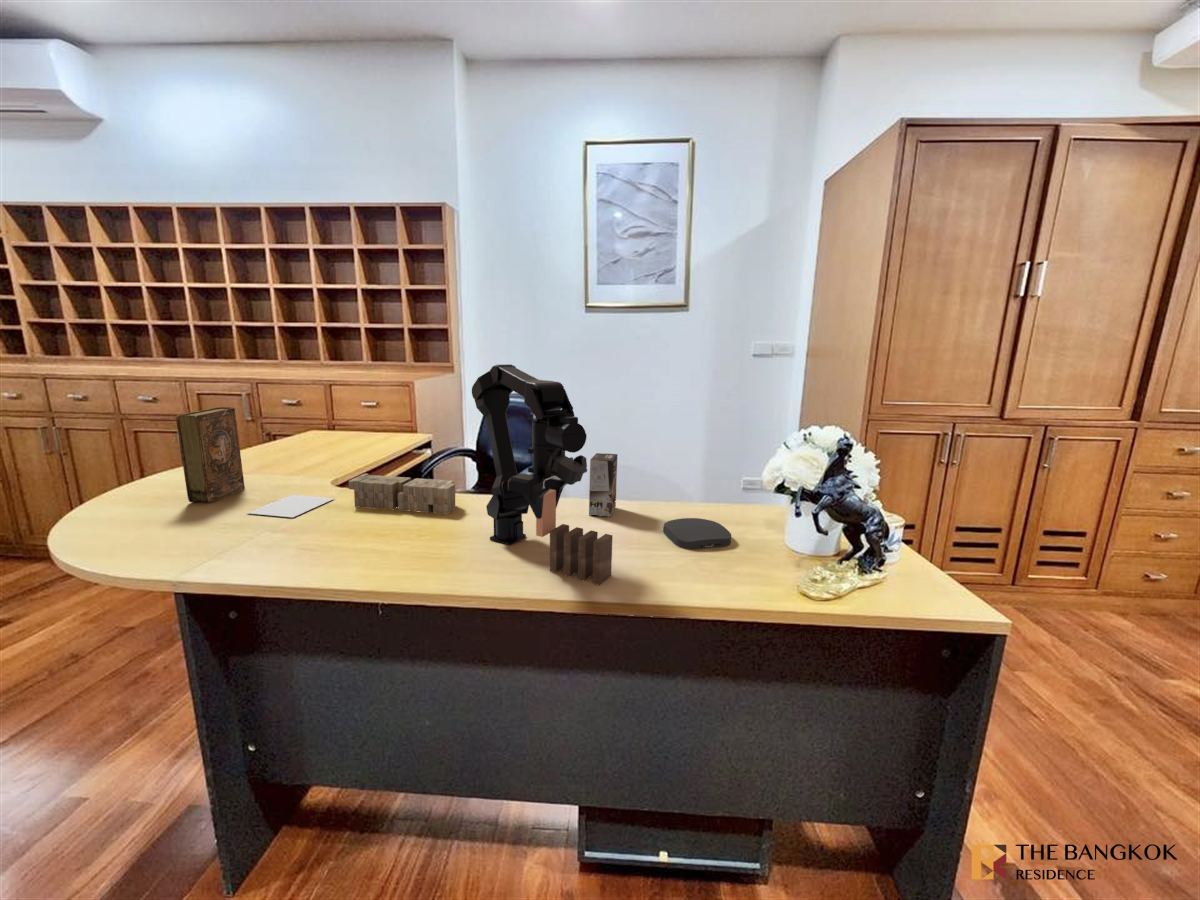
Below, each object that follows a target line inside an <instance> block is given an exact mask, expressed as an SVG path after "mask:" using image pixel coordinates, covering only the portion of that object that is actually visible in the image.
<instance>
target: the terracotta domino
mask: <svg viewBox="0 0 1200 900" xmlns="http://www.w3.org/2000/svg"><path fill="white" fill-rule="evenodd" d="M556 513H557V508H556V490H552V489H549V491H548V492H547V493H546V494H545V495H544V497H543V509H542V516H541V518H540V519H538V518H536V517H535V519H536V520H535V524H536V525H535V529H536V530H535V535H536V537H540V538H544V537H546V536H547V535H548V534H549V535H550V531H551V530H553V529H555V528H556V527H557V523H556V522H557V518H556V517H557V514H556Z"/></svg>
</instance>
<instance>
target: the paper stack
mask: <svg viewBox="0 0 1200 900" xmlns="http://www.w3.org/2000/svg"><path fill="white" fill-rule="evenodd" d="M335 499H336V498H334V497H323V496H313V495H312V496H311V495H310V496H309V495H299V494H291V495H289V496H286V497H283V498H281V499H279V500H276V501H273V502H271V503H269V504H267V505H263V506H261V507H259V508H256V509H253V510H251V511H248V512H247V514H250V515H261V516H262V515H263V516H271V517H272V516H274V517H283V518H295V517H298V516H299V515H303V514H304V513H306V512H308V511H311V510H313V509H315V508H317V507H319V506H322V505H323V504H326V503H328V502H330V501H332V500H335Z"/></svg>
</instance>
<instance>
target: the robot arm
mask: <svg viewBox="0 0 1200 900" xmlns="http://www.w3.org/2000/svg"><path fill="white" fill-rule="evenodd" d="M513 392H515V393H517V394H518V395H520V396H522V397H523V398H524V400H523V401H524V404H525V405H526V406H527V407H528V409H530V410H531V412H530V413H529V414H528V415H527V419H528V420H531V421H532V422H531V423H532V424H531V427H532V428H531V430H532V431H531V434H532V435H531V436H532V437H531V439H532V440H531V442H532V445H531V447H528V448H527V453H528V454H532V455H531V456H532V458H531V459H532V460H531V461H532V462H531V463H532V466H529V467H527V472H528V473H530V474H528V473H523V472H522V473H518V470H517V467H516V462H515V455H514V451H513V446H512V440H511V435H510V430H509V426H508V419H507V410H508V407H509V405H510V402H511V399H510V398H511V397H510V395H511V394H512V393H513ZM471 395H472V398H473V399H474V403H475V406H476V407H475V408H476V409H477V410H478V411H479V412H480V413H481V414H482V415H483V417H484V418H485V422H486V428H487V433H488V438H489V444H490V448H491V453H492V459H493V465H494V470H495V475H496V477H495V480H494V482H493V485H492V488H491V493H492V494H491V495H492V497H491V498H490V499H489V501H488V502H487V504H486V514H487V516H488V517H491V518H493V535H490V537H489V540H491V541H494V542H498V543H500V544H505V545H513V544H515V543H517V542H519V541H520V540H522V539H524V538H526V536H527V534H525V533H524V521H523V515H527V514H528V512H529V507H530V508H531V511H532V513H533V515H534V516H535V519H536V518H538V519H540V518H541V516H542V509H543V497H544V495H545V494H546V493H547V492H548V491H549V489H552V490H556V509H557V508H558V504H559V500H560V499H561V496H562V492H563V490H564V488H565V486H566V485H570V486H572V485H573V486H574V485H575V484H576V483H577V482H581V481H582V478H583V475H584V474H585V473H587V472H588V468H587V467H588V464H587V457H585V456H584V455H583V454H582V455H581V454H580V455H578V456H575V457H573V456H571V457H568V456H566V452H568V453H573V454H574V453H577V452H579V451H581V450H582V449H583V447H585V444H586V441H587V432H586V430H585V428H584V427H583V425H581V424H580V423H579V417H577V416H575V411H574V407H573V405H572V403H571V401H570V398H569V397H568V394H567V391H566V389H565V387H564V384H562V383H561V381H560V382H559V381H554V380H546V379H544V380H543V379H538V378H536V377H535V376H532V375H530V374H529V373H526V372H524V371H523V370H521V369H519V368H517V367H516V366H515V365H513V364H509V363H508V364H495V365H493V366H491V367H490V370H488V371H487V372H485V373H484V374H482V375H481V376H478V378H477V379H476V380H475V381H474V383H473V385H472V386H471Z"/></svg>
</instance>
